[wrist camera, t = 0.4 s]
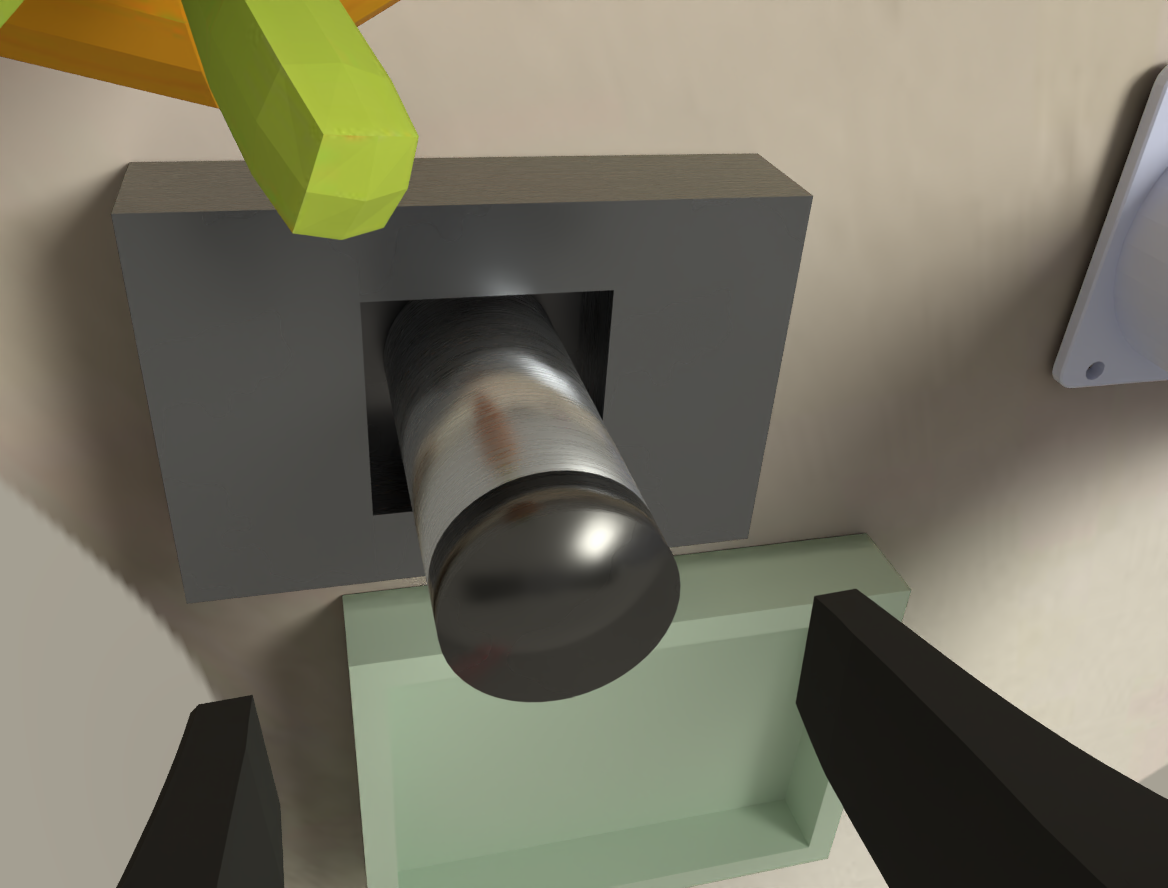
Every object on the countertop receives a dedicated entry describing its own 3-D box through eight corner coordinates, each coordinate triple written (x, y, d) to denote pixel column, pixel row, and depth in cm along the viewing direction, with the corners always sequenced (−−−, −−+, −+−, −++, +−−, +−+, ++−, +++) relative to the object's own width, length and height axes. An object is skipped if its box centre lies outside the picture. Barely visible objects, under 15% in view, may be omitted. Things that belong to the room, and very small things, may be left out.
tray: (865, 533, 28) (911, 590, 26) (795, 795, 33) (827, 858, 32) (342, 595, 24) (349, 666, 22) (366, 876, 30) (373, 952, 28)
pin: (559, 271, 20) (694, 498, 14) (551, 422, 22) (666, 683, 16) (379, 279, 20) (434, 526, 13) (387, 436, 21) (438, 718, 15)
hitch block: (757, 153, 21) (813, 196, 19) (707, 474, 25) (748, 538, 23) (129, 162, 18) (111, 213, 16) (194, 524, 22) (186, 603, 20)
